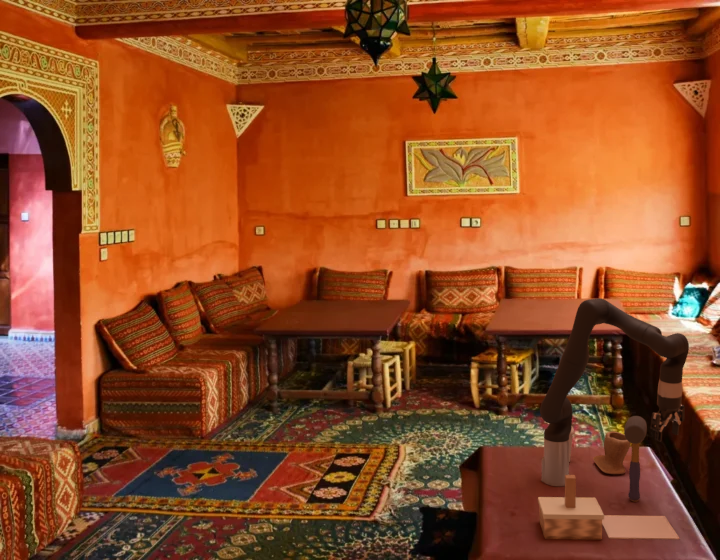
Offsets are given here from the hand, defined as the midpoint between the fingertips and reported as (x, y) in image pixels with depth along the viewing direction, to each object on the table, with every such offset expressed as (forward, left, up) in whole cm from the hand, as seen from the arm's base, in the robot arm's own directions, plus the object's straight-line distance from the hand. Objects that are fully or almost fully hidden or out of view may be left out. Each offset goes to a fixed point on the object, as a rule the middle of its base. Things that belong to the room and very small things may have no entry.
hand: (666, 437), depth 276 cm
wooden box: (-21, -29, -28) cm, 45 cm away
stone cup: (-31, +32, -28) cm, 52 cm away
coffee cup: (-51, +29, -28) cm, 65 cm away
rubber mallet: (-13, +7, -28) cm, 32 cm away
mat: (-4, -14, -28) cm, 31 cm away
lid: (-21, -29, -21) cm, 41 cm away
